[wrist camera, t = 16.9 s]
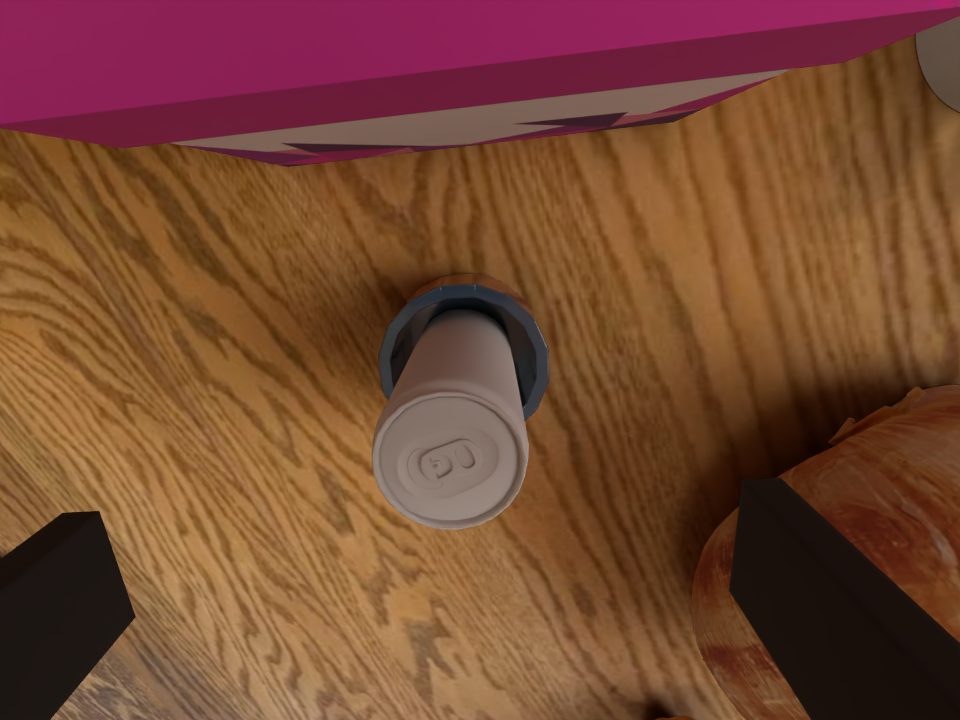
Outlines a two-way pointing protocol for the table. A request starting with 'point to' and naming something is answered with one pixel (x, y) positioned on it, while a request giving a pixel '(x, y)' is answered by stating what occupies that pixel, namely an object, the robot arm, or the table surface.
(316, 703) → the table surface
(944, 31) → the mug
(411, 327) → the holder
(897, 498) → the seashell
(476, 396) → the beverage can
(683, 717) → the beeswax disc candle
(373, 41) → the decorative box
